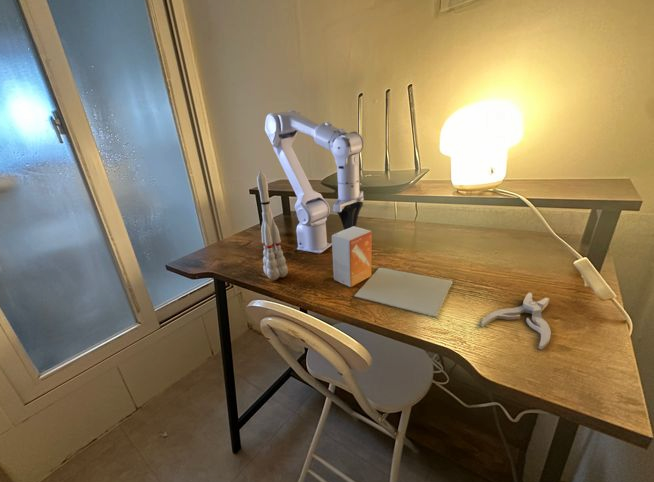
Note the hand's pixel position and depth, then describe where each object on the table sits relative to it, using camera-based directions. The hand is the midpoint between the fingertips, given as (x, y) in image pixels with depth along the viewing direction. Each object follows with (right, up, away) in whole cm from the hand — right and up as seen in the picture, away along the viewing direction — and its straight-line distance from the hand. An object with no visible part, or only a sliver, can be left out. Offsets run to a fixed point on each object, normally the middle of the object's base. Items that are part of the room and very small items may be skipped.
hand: (349, 228), depth 87 cm
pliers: (+27, -21, -29) cm, 45 cm away
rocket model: (-21, -14, 0) cm, 25 cm away
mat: (+9, -16, -15) cm, 24 cm away
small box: (-1, -14, -7) cm, 16 cm away
